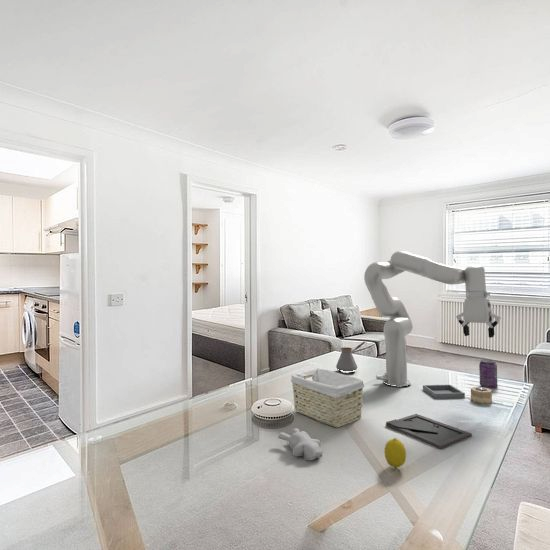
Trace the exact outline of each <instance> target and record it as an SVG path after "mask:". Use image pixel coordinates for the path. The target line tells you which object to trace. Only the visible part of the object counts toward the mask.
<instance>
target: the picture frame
mask: <svg viewBox="0 0 550 550" xmlns="http://www.w3.org/2000/svg"><path fill="white" fill-rule="evenodd" d="M385 427H387V428H389V429H392V430H394V431H396V432H399V433H401V434H404V435H405V436H409V437H410V438H412V439H415V440H417V441H419V442H422V443H425V444H427V445H430V446H432V447H433V448H437V449H439V450H443V449H446V448H448V447H450V446H452V445H456V444H458V443H459V442H462V441H464V440H467V439H470V438H472V432H468V431H467V430H463V429H460V428H458V427H454V426H452V425H449V424H447V423H443V422H440V421H438V420H435V419H432V418H429V417H428V416H427V417H426V416H424V415H421V414H419V413H413V414H411V415H407V416H405V417H402V418H401V417H400V418H398V419H392V420H389V421H386V422H385Z"/></svg>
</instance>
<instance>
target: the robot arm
mask: <svg viewBox="0 0 550 550" xmlns="http://www.w3.org/2000/svg"><path fill="white" fill-rule="evenodd" d="M404 272H408V273H412V274H414V275H418V276H421V277H424V278H427V279H430V280H432V281H436V282H439V283H443V284H446V285H452V286H453V285H461V284H465V285H464V286H465V299H464V302H463V312H461V313H459V314H457V315H456V316H455V317H456V319H457V321H458V323H459V324H460V325H461V327H462V329H463V330H462V331H463V335H464V336H465V337H467V336H470V327H469V324H473V323H476V324H486V325H487V327H488V328H487V332H488V333H487V334H488V338H490V339H491V338H494V336H495V328H496V326H497V325H499V323H500V320H501V319H502V318H501V316H499V315H497V314H496V313H493V311H492V310H493V309H492V305H491V302H490V299H489V298H488V297H489V296H491V293H490V292H488V291H487V287H486V284H487V283H486V273H485V272H486V271H485V267H483V266H482V265H473V266H466V267H461V266H460V267H458V266H449V265H446V264H443V263H438V262H435V261H433V260H431V259H430V258H428V257H424V256H421V255H417V254H413V253H411V252H409V251H405V250H404V251H402V250H398V251H395V252H394V253H392V254H391V256H390V259H389V260H387V261H386V262H385V261H375V262H372V263H371V264H369V265H368V266H367V267H366V269H365V272H364V275H363V276H364V278H363V279H364V283H365V286H366V288H367V290H368V292H369V295H370V296H371V299H372V301H373V303H374V306H375V308H376V310H377V312H378V314H379V315H380V316H381V317H384V318H386V317H387V318H389V319H388V320H386V321H385V323H384V325H383V336H384V343H385V369H386V370H385V372H384V374H382V375H376V376H375V377H376V378H375V379H376V380H379V381H382V383H383V382H385V383H387V384H390V385H396V386H407V385H410V386H411V383H412V382H411V381H410V380H408V367H407V366H408V365H407V360H408V359H407V358H408V357H407V344H406V343H407V342H406V339H405V337H406V336H408V335H410V334H411V333H412V331H413V321H412V320H411V317H410V316H409V313H408V311H407V309H406V307H405V304H404V302H402V300H401V299H400V298H398V297H396V296H391V295H390V292H389V290H388V288H387V286H386V285H385V283H384V282H383V280H389V279H391V278H394V277H395V276H398V275H399V274H402V273H404ZM462 318H463V319H462ZM493 320H494V321H493ZM407 387H408V386H407Z"/></svg>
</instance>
